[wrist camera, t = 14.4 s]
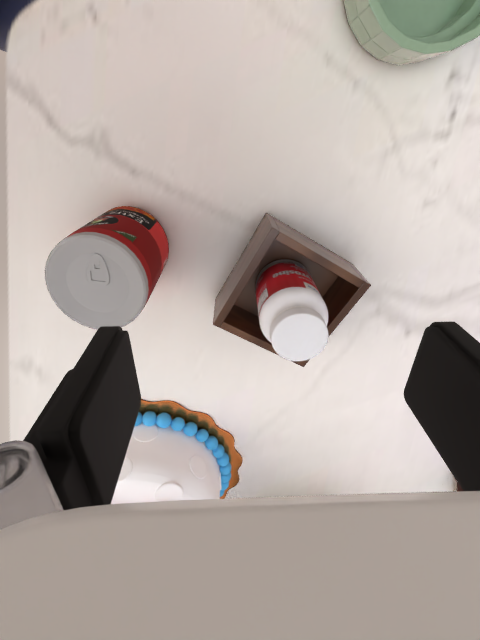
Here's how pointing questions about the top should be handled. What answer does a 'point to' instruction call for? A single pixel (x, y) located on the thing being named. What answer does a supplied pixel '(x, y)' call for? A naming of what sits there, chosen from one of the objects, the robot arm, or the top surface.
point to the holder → (276, 244)
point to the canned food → (108, 267)
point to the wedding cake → (176, 457)
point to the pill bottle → (291, 310)
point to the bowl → (412, 27)
